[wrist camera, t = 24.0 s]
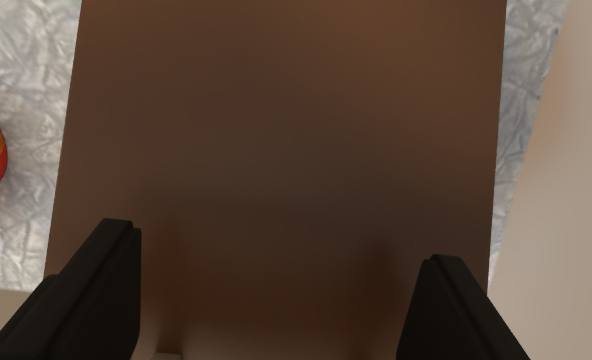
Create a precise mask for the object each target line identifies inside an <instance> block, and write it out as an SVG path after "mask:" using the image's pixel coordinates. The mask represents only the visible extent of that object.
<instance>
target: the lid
mask: <svg viewBox="0 0 592 360" xmlns="http://www.w3.org/2000/svg"><path fill="white" fill-rule="evenodd" d="M506 4H507V0H82V4H81V11H80V18H79V25H78V33H77V40H76V47H75V54H74V61H73V69H72V76H71V83H70V90H69V97H68V105H67V112H66V119H65V126H64V133H63V141H62V148H61V155H60V162H59V169H58V177H57V184H56V191H55V198H54V205H53V213H52V220H51V227H50V234H49V241H48V248H47V256H46V263H45V270H44V277H43V279H45V278H46V277H47V276H48V275H51V274H59V273H60V271H61V270H62V269H63V268H64V266H65V265H66V264H67V263H68V261H69V260H70V259H71V258H72V256H73V255H74V254H75V253H76V251H77V250H78V249H79V248H80V247H81V245H82V244H83V243H84V242H85V240H86V239H87V238H88V237H89V235H90V234H91V233H92V232H93V230H94V229H95V228H96V227H97V225H98V224H99V223H100V222H101V220H102V219H103V218H112V219H121V220H130V221H132V222H133V228H140V229H141V233H142V244H141V319H140V334H139V338H138V342H137V345H136V347H135V350H134V352H133V355H132V357H131V359H130V360H396V351H397V347H398V343H399V340H400V337H401V333H402V330H403V326H404V323H405V319H406V316H407V312H408V309H409V305H410V302H411V298H412V295H413V292H414V288H415V285H416V281H417V278H418V274H419V271H420V267H421V264H422V262H423V260H425V259H430V257H431V256H432V255H433V254H442V255H451V256H458V257H460V258H461V259H462V260H463V262H464V263H465V265H466V266H467V267H468V269H469V270H470V272H471V273H472V275H473V276H474V278H475V279H476V281H477V282H478V284H479V285H480V286H481V288H482V289H483V291H484V292H485V294H486V295H487V288H488V273H489V258H490V243H491V228H492V214H493V199H494V184H495V169H496V154H497V139H498V124H499V109H500V94H501V79H502V64H503V49H504V34H505V19H506Z"/></svg>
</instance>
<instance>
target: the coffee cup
mask: <svg viewBox="0 0 592 360" xmlns="http://www.w3.org/2000/svg"><path fill="white" fill-rule="evenodd" d="M6 164H7V150H6V145H5V142H4V139H3V136H2V134H1V132H0V180H1V178H2V176H3V174H4V172H5V169H6Z"/></svg>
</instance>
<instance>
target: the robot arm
mask: <svg viewBox="0 0 592 360" xmlns="http://www.w3.org/2000/svg"><path fill="white" fill-rule="evenodd" d="M141 244H142V233H141V229H140V228H133V222H132V221H130V220H121V219H112V218H103V219H102V220H101V222H100V223H99V224H98V225H97V227H96V228H95V229H94V230H93V232H92V233H91V234H90V235H89V237H88V238H87V239H86V240H85V242H84V243H83V244H82V245H81V247H80V248H79V249H78V250H77V251H76V253H75V254H74V255H73V256H72V258H71V259H70V260H69V261H68V263H67V264H66V265H65V266H64V268H63V269H62V270H61V271H60V273H59V274H51V275H48V276H47V277H46V278H45V279H43V281H42V282H41V283H40V284H39V285H38V286H37V288H36V289H35V290H34V291H33V292H32V294H31V295H30V296H29V297H28V299H27V300H26V301H25V302H24V303H23V304H22V306H21V307H20V308H19V309H18V310H17V311H16V313H15V314H14V315H13V316H12V317H11V319H10V320H9V321H8V322H7V323H6V325H5V326H4V327H3V328H2V330H1V331H0V360H130V359H131V357H132V355H133V352H134V350H135V347H136V345H137V342H138V338H139V334H140V319H141ZM396 360H530V358H529V357H528V355H527V354H526V352H525V351H524V350H523V348H522V346H521V345H520V344H519V342H518V341H517V339H516V338H515V336H514V335H513V333H512V332H511V331H510V329H509V327H508V326H507V325H506V323H505V322H504V320H503V319H502V317H501V316H500V314H499V313H498V311H497V310H496V309H495V307H494V305H493V304H492V303H491V301H490V300H489V298H488V297H487V295H486V294H485V292H484V291H483V289H482V288H481V286H480V285H479V284H478V282H477V281H476V279H475V278H474V276H473V275H472V273H471V272H470V270H469V269H468V267H467V266H466V265H465V263H464V262H463V260H462V259H461V258H460V257H458V256H451V255H442V254H433V255H432V256H431V257H430V259H425V260H423V262H422V264H421V267H420V271H419V274H418V278H417V281H416V285H415V288H414V292H413V295H412V298H411V302H410V305H409V309H408V312H407V316H406V319H405V323H404V326H403V330H402V333H401V337H400V340H399V343H398V347H397V351H396Z"/></svg>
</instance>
